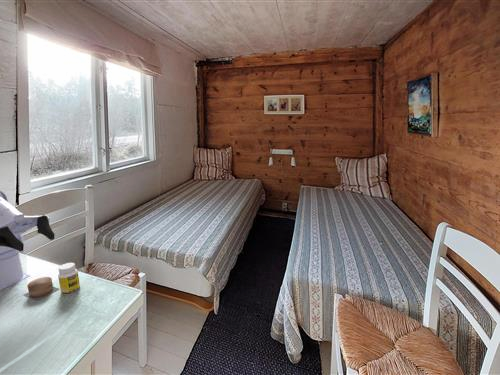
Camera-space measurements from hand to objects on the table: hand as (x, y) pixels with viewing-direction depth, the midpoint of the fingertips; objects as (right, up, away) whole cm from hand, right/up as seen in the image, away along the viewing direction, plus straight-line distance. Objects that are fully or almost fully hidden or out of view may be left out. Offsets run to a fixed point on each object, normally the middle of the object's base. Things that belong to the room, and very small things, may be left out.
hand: (38, 242), depth 73 cm
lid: (-3, -16, +5) cm, 17 cm away
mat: (-3, -16, +5) cm, 17 cm away
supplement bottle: (+5, -16, +6) cm, 18 cm away
